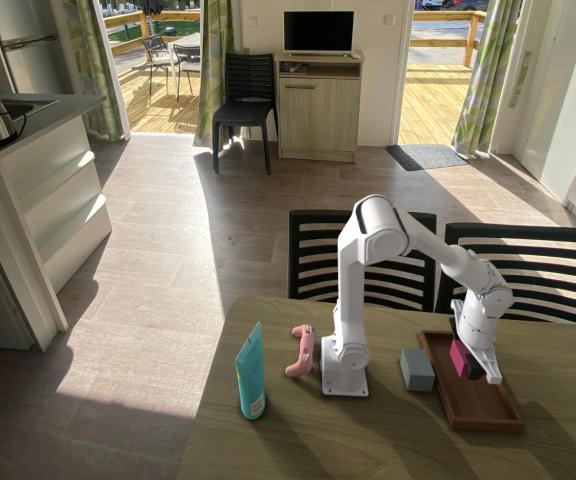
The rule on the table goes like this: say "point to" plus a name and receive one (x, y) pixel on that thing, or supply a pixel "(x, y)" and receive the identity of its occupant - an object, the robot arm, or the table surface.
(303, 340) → the video game controller
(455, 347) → the plum block
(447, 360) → the tray
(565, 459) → the table surface
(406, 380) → the grey block
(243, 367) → the tube
